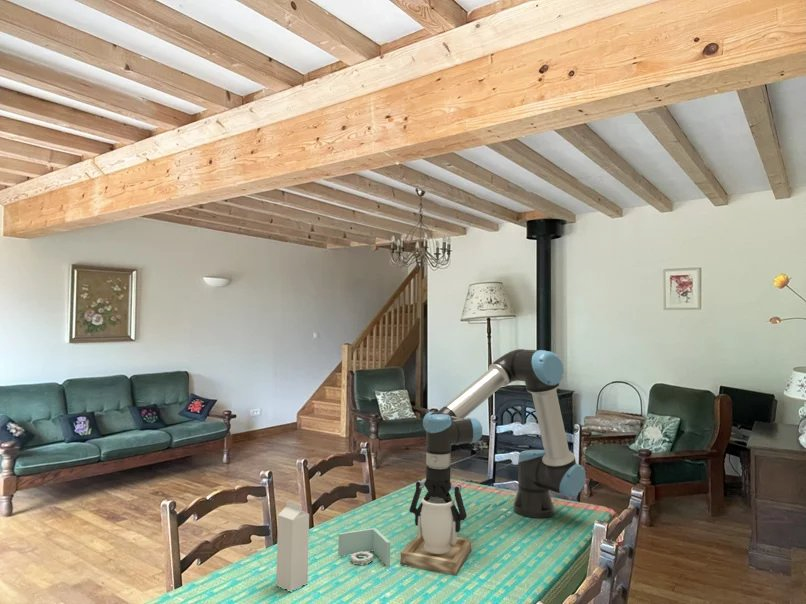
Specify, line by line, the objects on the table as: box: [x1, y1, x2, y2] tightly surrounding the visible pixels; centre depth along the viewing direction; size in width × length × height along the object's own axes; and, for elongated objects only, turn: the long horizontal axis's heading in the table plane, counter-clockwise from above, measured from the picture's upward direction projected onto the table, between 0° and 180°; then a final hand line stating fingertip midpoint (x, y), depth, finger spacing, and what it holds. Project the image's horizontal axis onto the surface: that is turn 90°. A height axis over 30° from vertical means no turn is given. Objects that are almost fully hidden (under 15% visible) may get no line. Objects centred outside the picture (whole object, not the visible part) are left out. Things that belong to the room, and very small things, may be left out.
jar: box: [420, 495, 456, 554], centre depth 162 cm, size 11×10×15 cm
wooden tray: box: [400, 534, 472, 576], centre depth 161 cm, size 17×18×4 cm
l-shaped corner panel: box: [337, 527, 391, 567], centre depth 158 cm, size 12×12×8 cm
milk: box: [275, 500, 310, 591], centre depth 143 cm, size 6×6×22 cm
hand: (437, 539), depth 161 cm, fingers closed on jar, 10 cm apart
